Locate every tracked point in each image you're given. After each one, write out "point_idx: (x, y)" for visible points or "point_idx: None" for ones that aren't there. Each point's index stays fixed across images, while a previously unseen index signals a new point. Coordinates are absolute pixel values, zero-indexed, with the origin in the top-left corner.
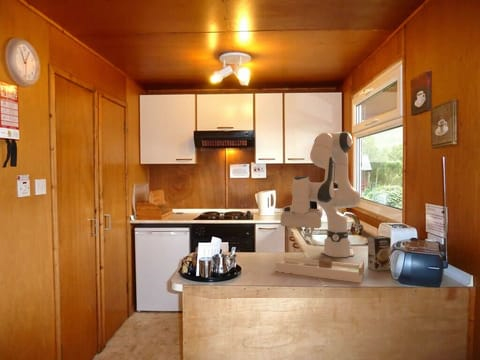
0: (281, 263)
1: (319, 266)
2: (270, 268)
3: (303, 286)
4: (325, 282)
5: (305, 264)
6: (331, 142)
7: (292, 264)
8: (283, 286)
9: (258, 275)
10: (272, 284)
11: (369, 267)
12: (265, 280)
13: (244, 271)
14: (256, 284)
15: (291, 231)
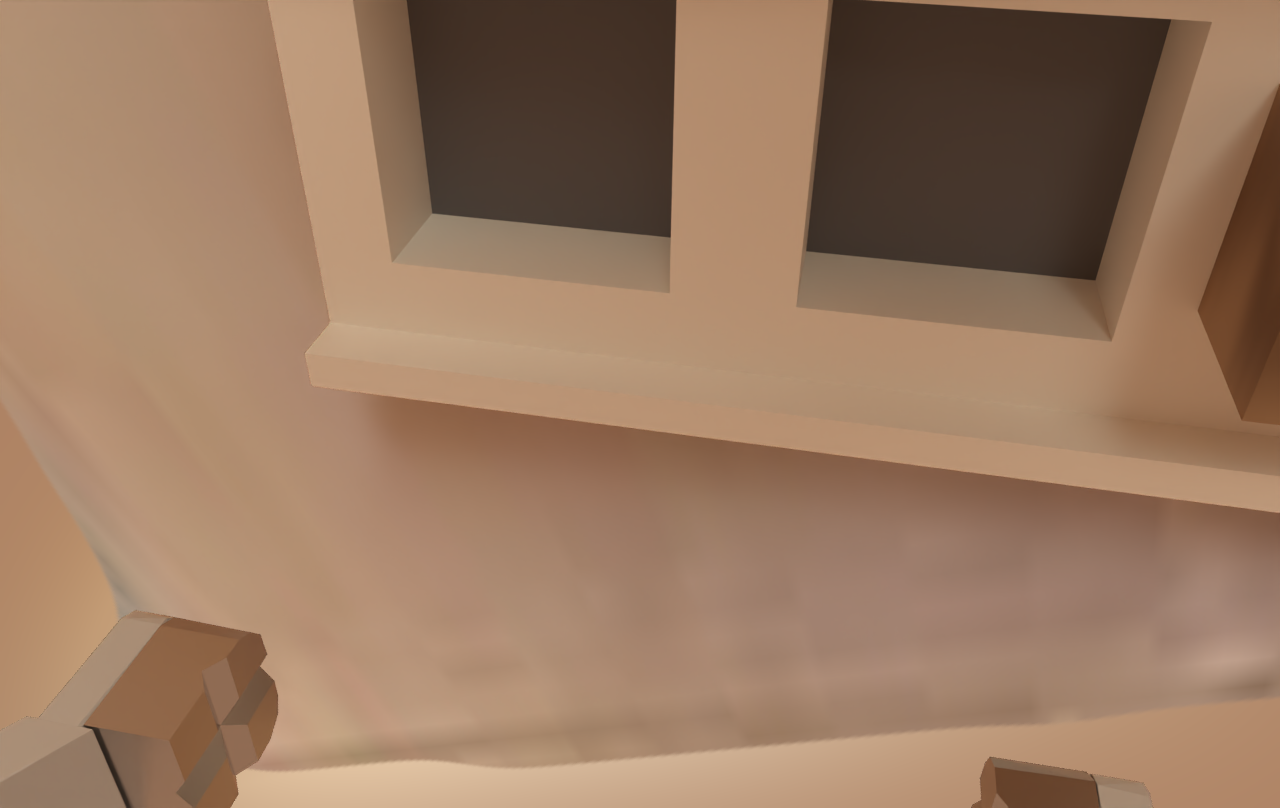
0: (417, 399)
1: (1215, 334)
2: (205, 148)
3: (928, 725)
4: (1255, 572)
5: None
6: None
7: (629, 413)
8: (697, 747)
9: (258, 498)
10: (561, 716)
11: None
12: (431, 630)
13: (3, 396)
14: (410, 733)
15: (96, 763)
